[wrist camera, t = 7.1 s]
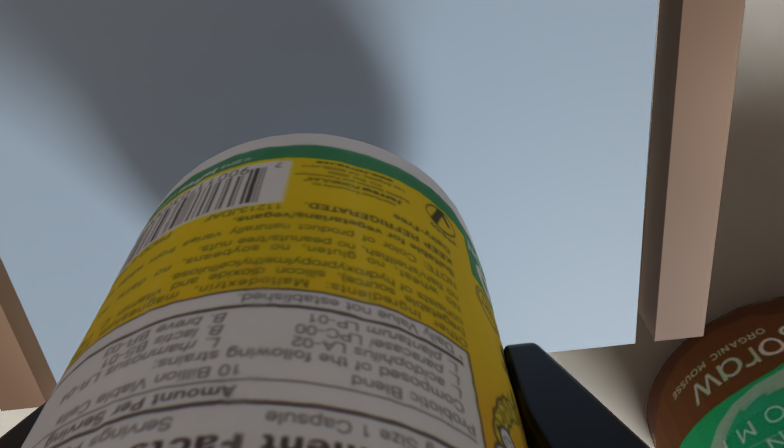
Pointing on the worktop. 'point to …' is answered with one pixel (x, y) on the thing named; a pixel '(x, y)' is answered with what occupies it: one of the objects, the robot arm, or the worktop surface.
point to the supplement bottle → (293, 315)
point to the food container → (724, 384)
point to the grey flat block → (339, 118)
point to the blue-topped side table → (663, 201)
